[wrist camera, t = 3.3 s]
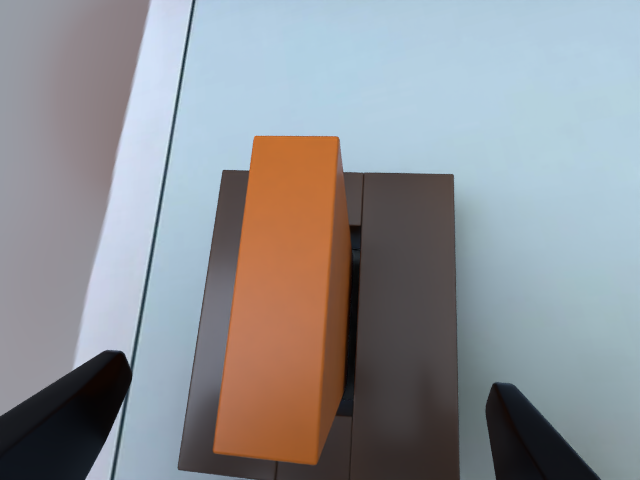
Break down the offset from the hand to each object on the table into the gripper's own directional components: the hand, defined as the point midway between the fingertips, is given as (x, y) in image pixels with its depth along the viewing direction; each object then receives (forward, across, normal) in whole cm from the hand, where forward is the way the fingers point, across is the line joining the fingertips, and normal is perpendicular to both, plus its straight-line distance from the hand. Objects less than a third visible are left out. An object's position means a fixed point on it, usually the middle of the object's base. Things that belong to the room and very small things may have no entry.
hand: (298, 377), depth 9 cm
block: (+8, 0, +5) cm, 9 cm away
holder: (+8, 0, +5) cm, 9 cm away
